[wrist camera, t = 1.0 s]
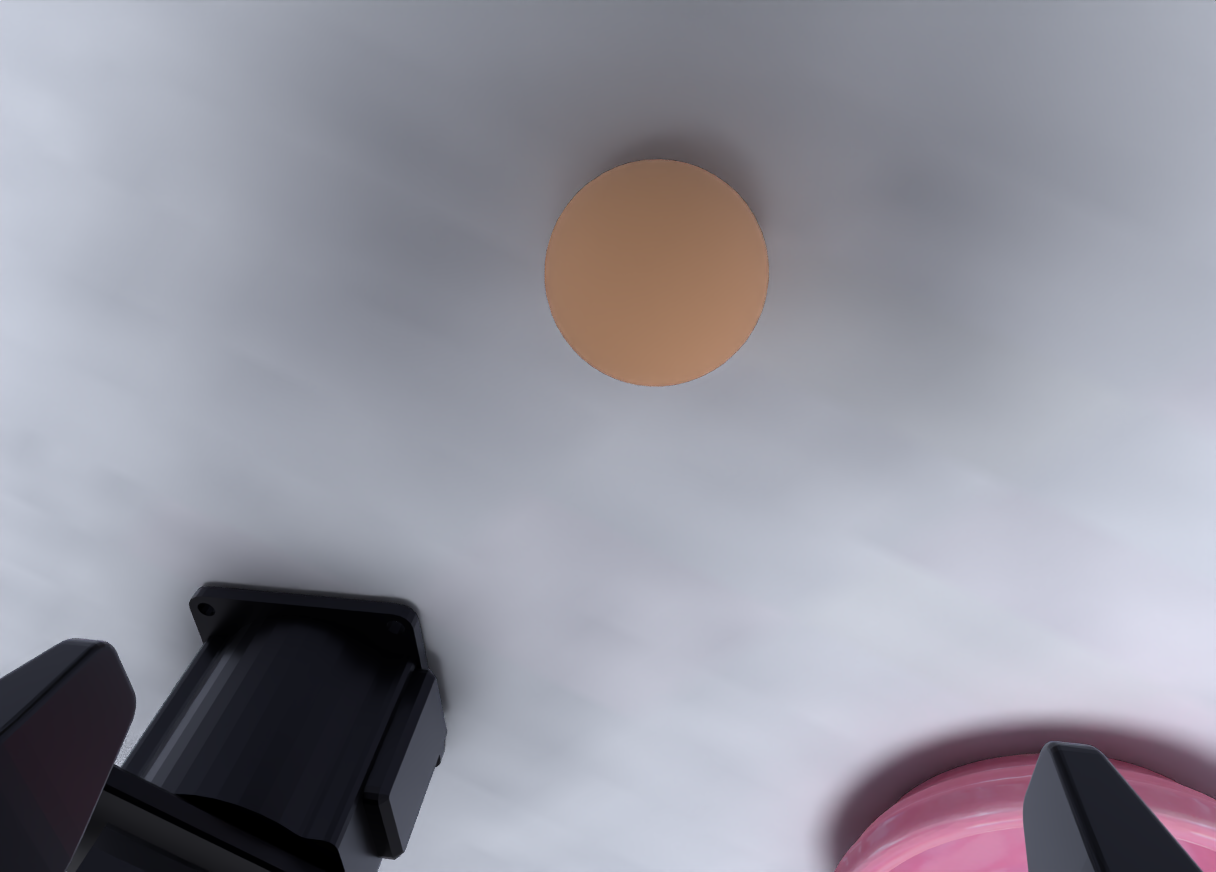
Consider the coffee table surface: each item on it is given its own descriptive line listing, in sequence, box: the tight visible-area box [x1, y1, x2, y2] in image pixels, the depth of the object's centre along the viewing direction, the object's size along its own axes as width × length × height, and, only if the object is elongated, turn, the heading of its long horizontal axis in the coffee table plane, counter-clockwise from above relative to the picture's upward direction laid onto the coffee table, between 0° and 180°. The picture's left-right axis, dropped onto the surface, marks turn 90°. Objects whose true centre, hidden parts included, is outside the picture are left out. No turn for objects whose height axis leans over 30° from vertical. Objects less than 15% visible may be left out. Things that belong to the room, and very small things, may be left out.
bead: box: [545, 159, 769, 386], centre depth 17 cm, size 4×4×4 cm
